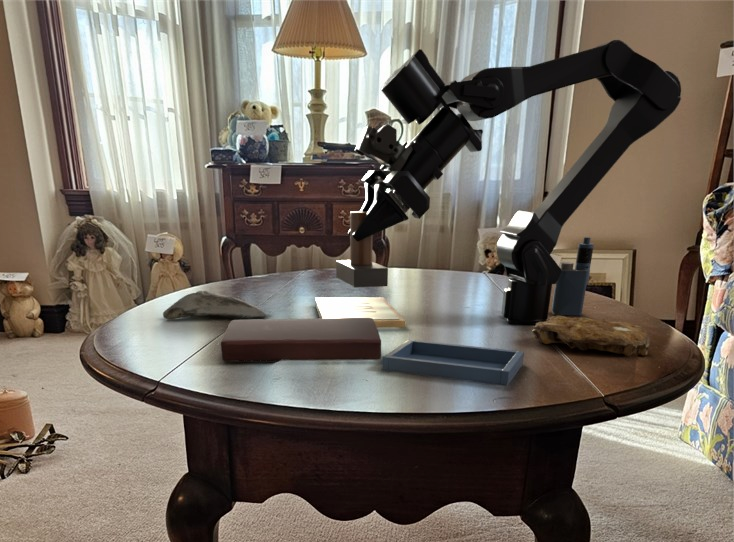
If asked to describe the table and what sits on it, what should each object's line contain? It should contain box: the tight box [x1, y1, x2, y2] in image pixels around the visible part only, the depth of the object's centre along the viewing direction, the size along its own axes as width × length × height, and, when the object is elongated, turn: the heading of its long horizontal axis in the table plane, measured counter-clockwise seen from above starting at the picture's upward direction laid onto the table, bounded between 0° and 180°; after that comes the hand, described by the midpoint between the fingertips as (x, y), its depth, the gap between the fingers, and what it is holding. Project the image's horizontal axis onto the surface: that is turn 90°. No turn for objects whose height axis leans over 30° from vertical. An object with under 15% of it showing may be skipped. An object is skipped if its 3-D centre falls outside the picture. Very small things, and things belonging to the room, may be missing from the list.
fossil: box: [162, 290, 267, 320], centre depth 105 cm, size 11×5×15 cm
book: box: [220, 317, 382, 363], centre depth 84 cm, size 12×19×3 cm, turn 94°
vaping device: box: [551, 237, 595, 317], centre depth 107 cm, size 3×5×12 cm, turn 89°
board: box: [314, 296, 406, 329], centre depth 105 cm, size 20×12×2 cm, turn 7°
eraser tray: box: [381, 339, 525, 386], centre depth 77 cm, size 15×10×2 cm, turn 67°
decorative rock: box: [531, 315, 651, 357], centre depth 87 cm, size 11×4×15 cm
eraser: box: [335, 210, 389, 289], centre depth 95 cm, size 10×5×10 cm, turn 16°
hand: (352, 237), depth 94 cm, fingers closed on eraser, 3 cm apart
